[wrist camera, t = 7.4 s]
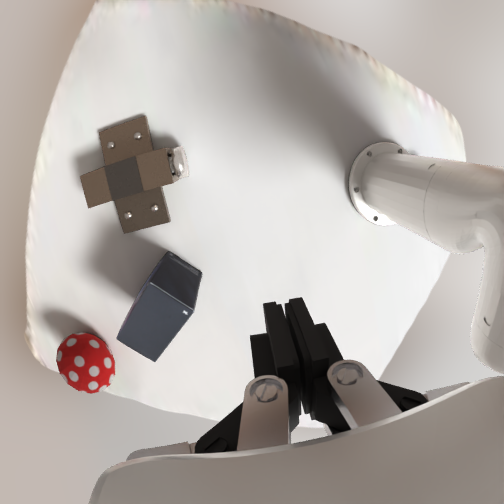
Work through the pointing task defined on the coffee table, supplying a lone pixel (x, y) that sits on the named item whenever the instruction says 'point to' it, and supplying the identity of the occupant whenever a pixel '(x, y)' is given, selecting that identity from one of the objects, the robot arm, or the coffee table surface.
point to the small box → (161, 307)
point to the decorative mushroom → (85, 362)
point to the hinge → (131, 176)
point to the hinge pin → (179, 162)
